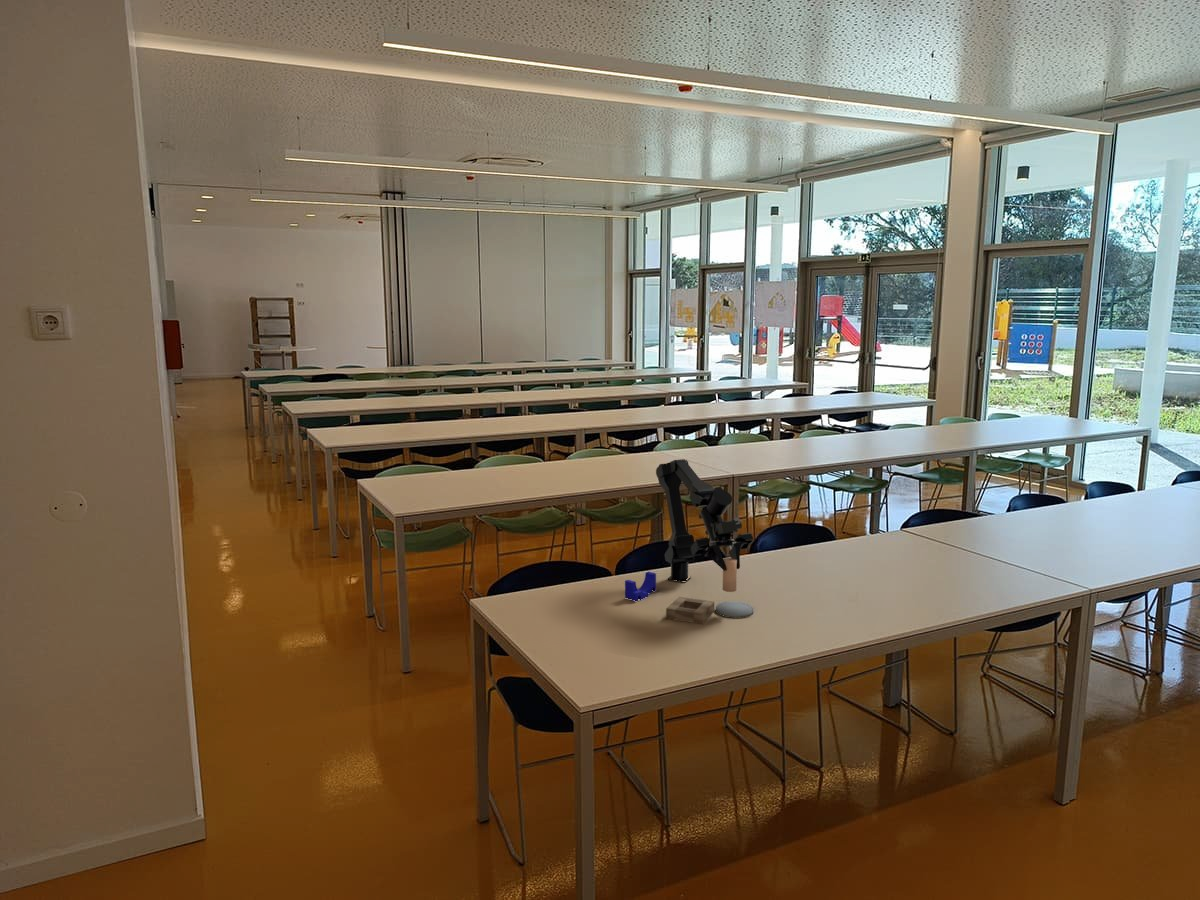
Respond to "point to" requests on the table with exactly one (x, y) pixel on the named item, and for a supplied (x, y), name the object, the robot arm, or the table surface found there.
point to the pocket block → (690, 610)
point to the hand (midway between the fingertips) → (732, 569)
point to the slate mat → (734, 609)
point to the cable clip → (643, 591)
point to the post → (730, 575)
